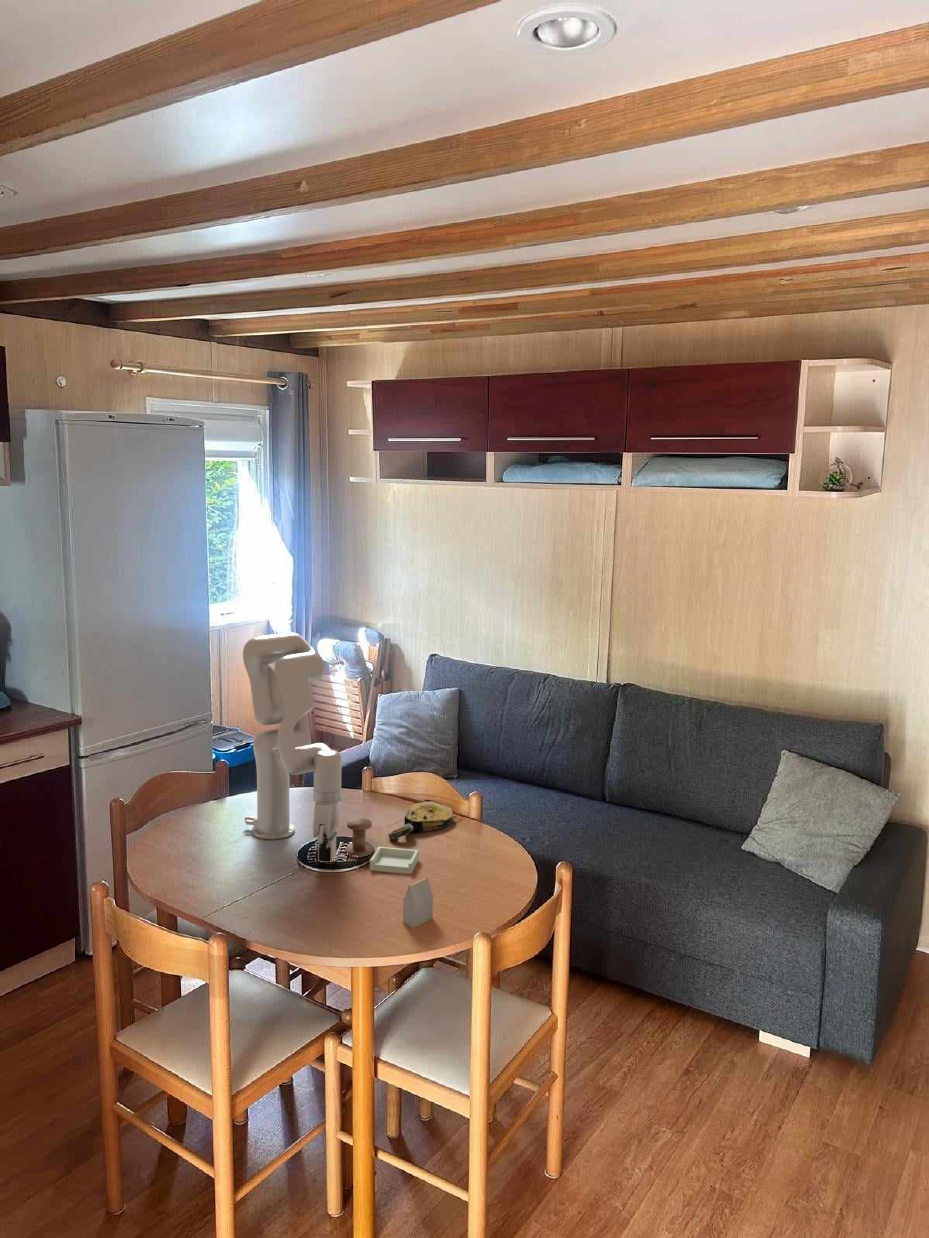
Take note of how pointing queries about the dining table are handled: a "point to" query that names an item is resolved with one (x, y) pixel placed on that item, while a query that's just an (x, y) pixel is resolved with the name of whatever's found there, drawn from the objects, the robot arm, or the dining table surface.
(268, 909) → the dining table surface
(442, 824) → the pulley block
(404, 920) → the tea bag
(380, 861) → the open tray
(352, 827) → the knob
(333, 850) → the white grey rectangular block
